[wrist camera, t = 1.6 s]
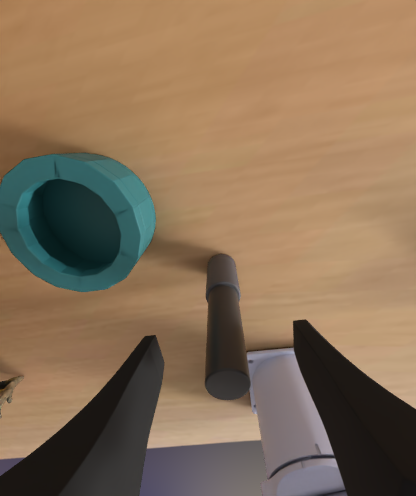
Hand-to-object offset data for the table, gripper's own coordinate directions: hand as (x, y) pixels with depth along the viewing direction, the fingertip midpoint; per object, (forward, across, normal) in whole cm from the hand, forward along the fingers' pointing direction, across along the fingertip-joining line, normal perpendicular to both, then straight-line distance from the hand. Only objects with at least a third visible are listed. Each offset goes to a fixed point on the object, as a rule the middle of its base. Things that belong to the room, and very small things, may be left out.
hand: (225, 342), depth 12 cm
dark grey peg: (+9, 0, 0) cm, 9 cm away
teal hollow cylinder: (+9, +9, -6) cm, 14 cm away
